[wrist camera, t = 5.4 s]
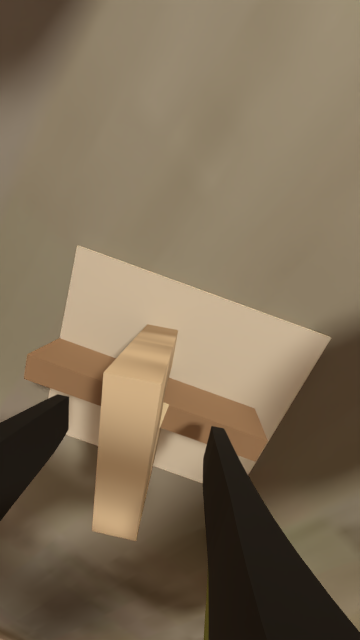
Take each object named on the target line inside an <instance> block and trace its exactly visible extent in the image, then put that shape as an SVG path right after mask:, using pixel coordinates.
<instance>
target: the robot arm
mask: <svg viewBox="0 0 360 640" xmlns="http://www.w3.org/2000/svg"><path fill="white" fill-rule="evenodd" d="M68 430H69V397H68V396H63V395H59V394H57V395H55V396H53V397H51V398H49V399H47V400H45V401H43V402H41V403H39V404H37V405H35V406H33V407H31V408H29V409H27V410H25V411H23V412H21V413H19V414H17V415H15V416H13V417H11V418H9V419H7V420H5V421H3V422H1V423H0V521H1V520H2V518H3V517H4V516H5V514H6V513H7V512H8V510H9V509H10V508H11V506H12V505H13V504H14V502H15V501H16V500H17V499H18V497H19V496H20V495H21V494H22V492H23V491H24V490H25V489H26V487H27V486H28V485H29V484H30V482H31V481H32V480H33V479H34V477H35V476H36V475H37V474H38V472H39V471H40V470H41V468H42V467H43V466H44V465H45V463H46V462H47V461H48V460H49V458H50V457H51V456H52V454H53V453H54V452H55V450H56V449H57V447H58V446H59V444H60V443H61V441H62V439H63V438H64V436H65V435H66V433H67V431H68ZM203 496H204V510H205V524H206V538H207V552H208V604H209V640H360V632H359V631H358V630H357V629H356V627H355V626H354V625H353V624H352V622H351V621H350V620H349V619H348V618H347V616H346V615H345V614H344V613H343V611H342V610H341V609H340V608H339V606H338V605H337V604H336V603H335V602H334V600H333V599H332V598H331V596H330V595H329V594H328V593H327V591H326V590H325V589H324V587H323V586H322V585H321V583H320V582H319V581H318V579H317V578H316V577H315V575H314V574H313V573H312V571H311V570H310V569H309V567H308V566H307V565H306V564H305V562H304V561H303V560H302V558H301V557H300V556H299V554H298V553H297V551H296V550H295V549H294V547H293V546H292V544H291V543H290V541H289V540H288V539H287V537H286V536H285V534H284V533H283V531H282V530H281V528H280V527H279V525H278V524H277V522H276V521H275V519H274V518H273V516H272V515H271V513H270V512H269V510H268V508H267V507H266V505H265V504H264V502H263V500H262V499H261V497H260V495H259V494H258V492H257V490H256V489H255V487H254V485H253V483H252V482H251V480H250V478H249V476H248V474H247V473H246V471H245V469H244V467H243V465H242V463H241V461H240V460H239V458H238V456H237V454H236V452H235V450H234V448H233V446H232V443H231V441H230V439H229V437H228V435H227V433H226V431H225V429H224V428H219V427H214V426H211V430H210V434H209V438H208V442H207V446H206V449H205V453H204V457H203Z"/></svg>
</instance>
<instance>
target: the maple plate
mask: <svg viewBox="0 0 360 640" xmlns="http://www.w3.org/2000/svg"><path fill="white" fill-rule="evenodd" d="M177 335H178V330H175V329H170V328H164V327H159V326H154V325H148V324H147V325H146V326H145V327H144V328H143V330H142V331H141V332H140V333H139V334H138V335H137V336H136V337H135V338H134V339H133V341H132V342H131V343H130V344H129V345H128V346H127V347H126V348H125V349H124V350H123V352H122V353H121V354H120V355H119V356H118V357H117V358H116V359H115V360H114V361H113V363H112V364H111V365H110V366H109V367H108V368H107V369H106V370H105V371H104V372H103V386H102V400H101V414H100V428H99V442H98V456H97V470H96V484H95V498H94V512H93V526H92V531H95V532H99V533H103V534H107V535H112V536H116V537H120V538H125V539H129V540H133V541H136V539H137V534H138V530H139V525H140V521H141V516H142V512H143V508H144V503H145V499H146V494H147V490H148V485H149V481H150V477H151V472H152V468H153V463H154V459H155V454H156V450H157V446H158V441H159V437H160V432H161V428H159V426H160V420H161V414H162V409H163V403H164V397H165V391H166V387H167V383H168V379H169V376H170V372H171V368H172V363H173V358H174V352H175V346H176V340H177Z"/></svg>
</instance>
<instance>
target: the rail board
mask: <svg viewBox="0 0 360 640" xmlns="http://www.w3.org/2000/svg"><path fill="white" fill-rule="evenodd" d="M147 324H148V325H154V326H159V327H164V328H170V329H175V330H178V335H177V340H176V346H175V352H174V358H173V363H172V368H171V372H170V376H169V379H168V383H167V387H166V391H165V397H164V403H163V409H162V414H161V420H160V426H159V428H161V432H160V437H159V441H158V446H157V450H156V454H155V459H154V463H153V466H155V467H158V468H161V469H163V470H166V471H169V472H172V473H175V474H177V475H180V476H183V477H186V478H189V479H191V480H194V481H197V482H200V483H203V457H204V453H205V449H206V446H207V442H208V438H209V434H210V430H211V426H214V427H219V428H224V429H225V431H226V433H227V435H228V437H229V439H230V441H231V443H232V446H233V448H234V450H235V452H236V454H237V456H238V458H239V460H240V461H241V463H242V465H243V467H244V469H245V471H246V473H247V474H249V473H250V471H251V469H252V468H253V466H254V465H255V463H256V461H257V460H258V458H259V456H260V455H261V453H262V451H263V450H264V448H265V446H266V445H267V443H268V441H269V440H270V438H271V436H272V435H273V433H274V432H275V430H276V428H277V427H278V425H279V423H280V422H281V420H282V418H283V417H284V415H285V413H286V412H287V410H288V408H289V407H290V405H291V403H292V402H293V400H294V399H295V397H296V395H297V394H298V392H299V390H300V389H301V387H302V385H303V384H304V382H305V380H306V379H307V377H308V375H309V374H310V372H311V370H312V369H313V367H314V366H315V364H316V362H317V361H318V359H319V357H320V356H321V354H322V352H323V351H324V349H325V347H326V346H327V344H328V342H329V341H330V339H331V337H329V336H327V335H324V334H321V333H319V332H316V331H313V330H310V329H308V328H305V327H302V326H299V325H297V324H294V323H291V322H288V321H286V320H283V319H280V318H277V317H275V316H272V315H269V314H266V313H264V312H261V311H258V310H255V309H253V308H250V307H247V306H244V305H242V304H239V303H236V302H233V301H231V300H228V299H225V298H222V297H220V296H217V295H214V294H211V293H209V292H206V291H203V290H200V289H198V288H195V287H192V286H189V285H187V284H184V283H181V282H178V281H176V280H173V279H170V278H167V277H165V276H162V275H159V274H156V273H154V272H151V271H148V270H145V269H143V268H140V267H137V266H134V265H132V264H129V263H126V262H123V261H121V260H118V259H115V258H112V257H110V256H107V255H104V254H101V253H99V252H96V251H93V250H90V249H88V248H85V247H82V246H78V245H77V250H76V255H75V261H74V266H73V271H72V276H71V282H70V287H69V292H68V297H67V303H66V308H65V313H64V319H63V324H62V329H61V334H60V338H59V339H57V340H55V341H53V342H51V343H49V344H47V345H45V346H43V347H41V348H39V349H37V350H35V351H33V352H31V353H29V354H27V361H26V368H25V375H24V379H26V380H29V381H32V382H35V383H38V384H40V385H43V386H46V387H49V388H50V392H49V398H51V397H53V396H55V395H57V394H59V395H63V396H68V397H69V430H68V431H67V433H66V435H69V436H71V437H74V438H77V439H80V440H82V441H85V442H88V443H91V444H94V445H96V446H98V442H99V428H100V414H101V400H102V386H103V372H104V371H105V370H106V369H107V368H108V367H109V366H110V365H111V364H112V363H113V361H114V360H115V359H116V358H117V357H118V356H119V355H120V354H121V353H122V352H123V350H124V349H125V348H126V347H127V346H128V345H129V344H130V343H131V342H132V341H133V339H134V338H135V337H136V336H137V335H138V334H139V333H140V332H141V331H142V330H143V328H144V327H145V326H146V325H147ZM49 398H48V399H49Z"/></svg>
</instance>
